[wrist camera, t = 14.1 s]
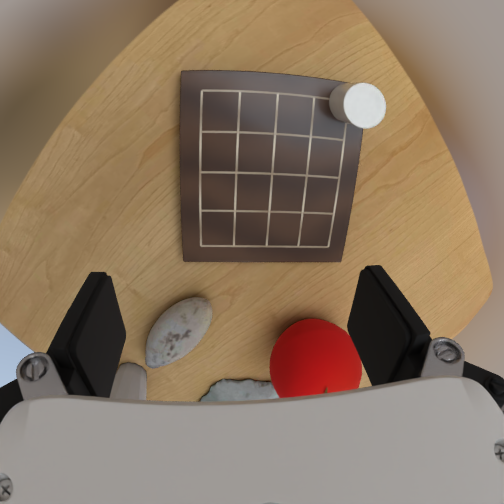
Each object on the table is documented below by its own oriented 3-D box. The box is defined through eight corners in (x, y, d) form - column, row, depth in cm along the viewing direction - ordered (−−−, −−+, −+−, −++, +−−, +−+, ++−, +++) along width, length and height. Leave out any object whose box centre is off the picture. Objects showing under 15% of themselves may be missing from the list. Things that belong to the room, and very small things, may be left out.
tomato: (251, 321, 41) (261, 399, 30) (335, 289, 40) (369, 360, 29) (281, 373, 47) (294, 441, 36) (351, 347, 45) (378, 412, 34)
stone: (296, 386, 44) (289, 443, 49) (293, 369, 48) (286, 426, 53) (193, 386, 44) (202, 442, 49) (197, 369, 48) (204, 426, 53)
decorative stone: (133, 350, 42) (129, 367, 39) (183, 276, 37) (180, 293, 34) (170, 366, 44) (168, 384, 41) (226, 299, 39) (226, 317, 36)
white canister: (330, 79, 26) (345, 78, 23) (369, 87, 26) (388, 87, 23) (326, 120, 28) (341, 125, 24) (365, 126, 28) (383, 131, 25)
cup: (134, 391, 47) (121, 467, 34) (100, 365, 43) (77, 444, 30) (166, 377, 45) (157, 461, 32) (131, 348, 42) (110, 435, 29)
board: (183, 71, 26) (180, 70, 25) (361, 86, 28) (367, 86, 26) (184, 255, 35) (183, 262, 34) (337, 256, 37) (341, 262, 36)
